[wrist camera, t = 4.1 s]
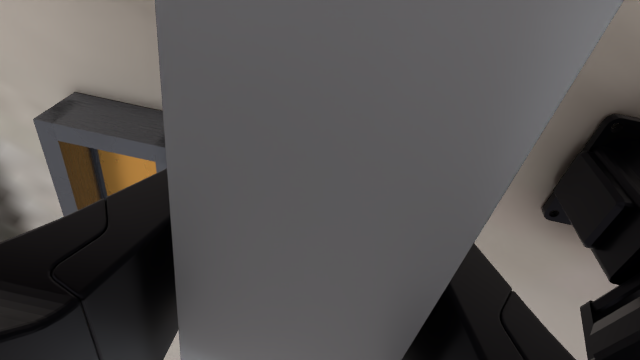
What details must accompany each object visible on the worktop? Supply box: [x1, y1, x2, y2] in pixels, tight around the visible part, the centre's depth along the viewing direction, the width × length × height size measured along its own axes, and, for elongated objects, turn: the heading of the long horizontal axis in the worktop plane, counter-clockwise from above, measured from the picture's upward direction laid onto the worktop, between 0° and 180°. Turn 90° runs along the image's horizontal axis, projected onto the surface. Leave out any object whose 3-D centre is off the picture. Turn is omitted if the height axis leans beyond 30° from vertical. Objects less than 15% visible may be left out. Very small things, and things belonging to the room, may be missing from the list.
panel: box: [155, 0, 624, 360], centre depth 8 cm, size 4×12×5 cm, turn 170°
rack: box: [33, 92, 167, 216], centre depth 25 cm, size 13×16×4 cm
